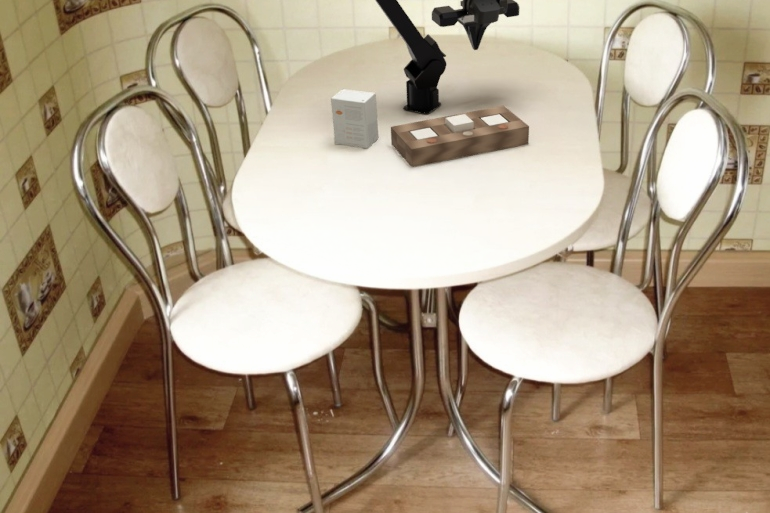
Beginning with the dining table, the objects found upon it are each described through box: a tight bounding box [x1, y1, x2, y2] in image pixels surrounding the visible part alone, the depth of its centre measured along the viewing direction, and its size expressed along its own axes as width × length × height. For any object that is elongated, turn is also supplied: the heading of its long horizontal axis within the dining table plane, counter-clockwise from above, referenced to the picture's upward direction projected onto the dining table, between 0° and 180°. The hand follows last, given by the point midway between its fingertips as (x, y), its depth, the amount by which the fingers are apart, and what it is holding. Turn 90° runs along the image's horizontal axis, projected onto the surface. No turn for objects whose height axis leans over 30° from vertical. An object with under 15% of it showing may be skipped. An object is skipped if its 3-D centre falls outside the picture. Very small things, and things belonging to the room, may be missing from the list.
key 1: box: [410, 128, 438, 140], centre depth 197 cm, size 4×4×3 cm
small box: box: [330, 88, 380, 149], centre depth 201 cm, size 8×6×10 cm
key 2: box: [480, 114, 508, 126], centre depth 201 cm, size 4×4×3 cm
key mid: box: [445, 114, 474, 133], centre depth 198 cm, size 4×4×3 cm
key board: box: [390, 105, 530, 168], centre depth 199 cm, size 26×12×4 cm, turn 110°
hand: (475, 49), depth 214 cm, fingers closed
